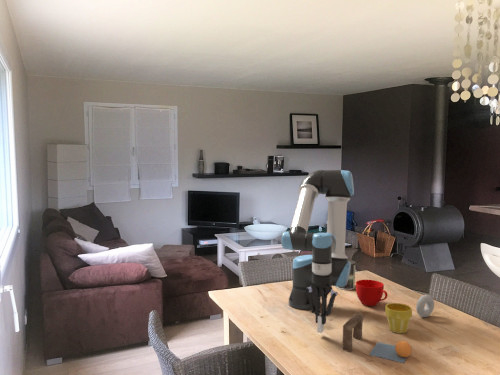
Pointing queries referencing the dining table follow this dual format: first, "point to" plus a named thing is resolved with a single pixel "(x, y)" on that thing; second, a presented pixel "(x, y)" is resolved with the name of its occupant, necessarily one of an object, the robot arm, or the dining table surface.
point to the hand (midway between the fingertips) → (320, 331)
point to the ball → (403, 349)
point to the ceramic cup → (370, 292)
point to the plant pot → (398, 316)
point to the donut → (421, 304)
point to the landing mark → (386, 352)
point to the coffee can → (350, 278)
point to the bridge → (352, 331)
